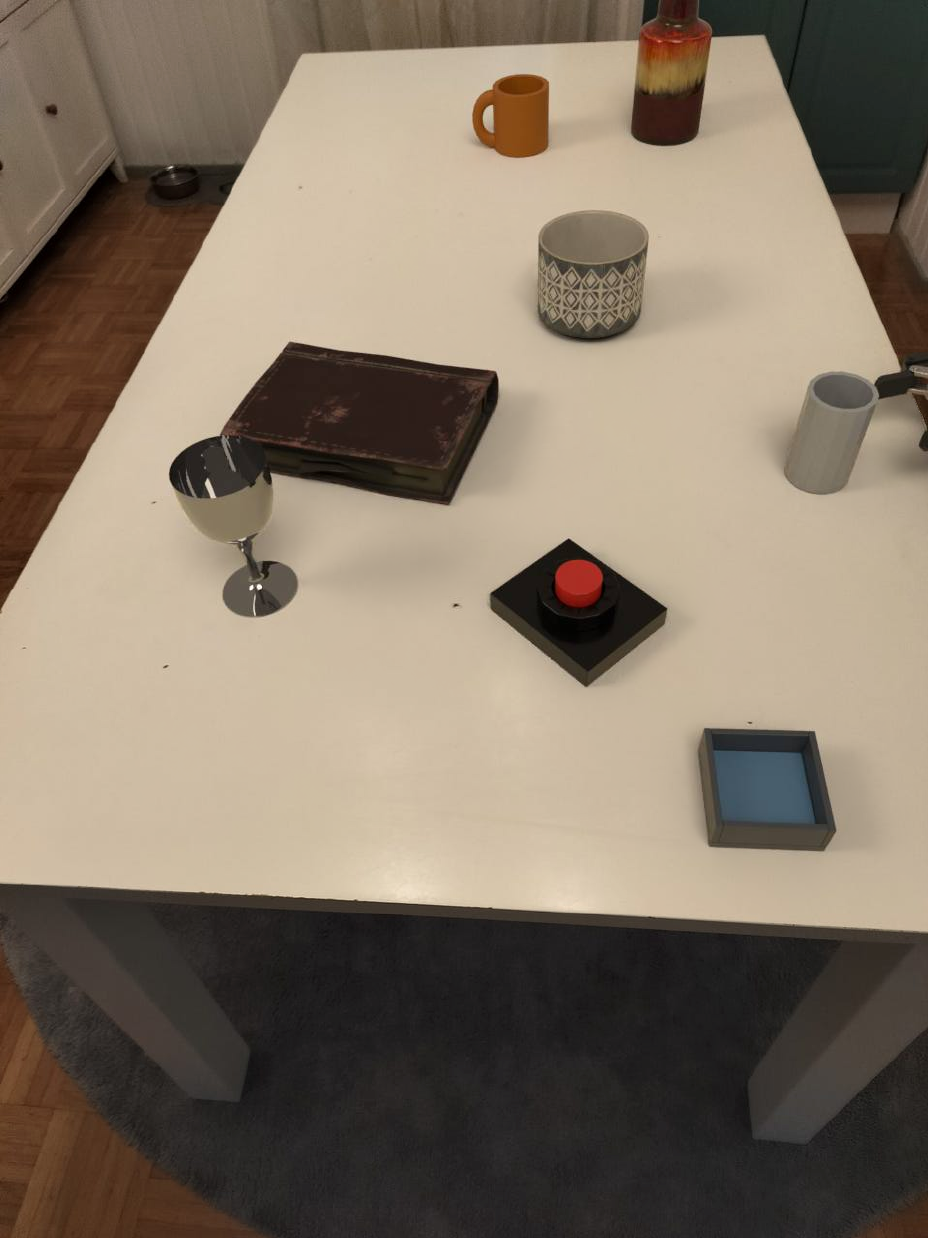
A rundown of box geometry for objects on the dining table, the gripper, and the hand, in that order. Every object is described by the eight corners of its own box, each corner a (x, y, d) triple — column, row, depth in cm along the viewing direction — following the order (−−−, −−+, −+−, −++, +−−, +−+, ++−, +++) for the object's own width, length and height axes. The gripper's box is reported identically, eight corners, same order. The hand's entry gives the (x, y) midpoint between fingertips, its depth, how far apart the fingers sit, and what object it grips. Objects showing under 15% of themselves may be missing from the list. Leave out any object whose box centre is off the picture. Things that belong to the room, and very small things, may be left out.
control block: (665, 624, 78) (670, 594, 75) (586, 687, 74) (588, 658, 71) (567, 554, 84) (569, 523, 81) (490, 609, 80) (488, 579, 77)
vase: (683, 150, 139) (703, -3, 123) (620, 139, 142) (631, -11, 127) (708, 124, 144) (730, -25, 129) (646, 114, 148) (660, -32, 133)
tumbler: (860, 473, 89) (892, 390, 81) (824, 503, 87) (853, 420, 79) (808, 445, 92) (833, 363, 84) (771, 473, 90) (794, 391, 82)
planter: (629, 351, 105) (638, 268, 97) (526, 338, 108) (526, 257, 100) (647, 295, 112) (657, 214, 104) (550, 285, 115) (552, 205, 107)
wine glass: (246, 634, 80) (199, 513, 68) (202, 587, 84) (150, 465, 72) (318, 589, 83) (284, 465, 71) (272, 545, 87) (233, 422, 75)
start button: (611, 590, 76) (612, 576, 75) (578, 615, 74) (579, 601, 73) (577, 566, 78) (578, 552, 77) (545, 589, 77) (545, 576, 75)
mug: (480, 132, 147) (478, 72, 140) (552, 134, 145) (553, 73, 138) (469, 156, 142) (466, 94, 135) (543, 158, 139) (544, 96, 133)
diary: (299, 372, 106) (291, 334, 102) (499, 402, 100) (498, 363, 96) (226, 471, 95) (214, 434, 91) (446, 512, 89) (443, 474, 85)
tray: (804, 753, 69) (814, 730, 66) (824, 851, 64) (836, 831, 61) (697, 750, 70) (703, 727, 67) (708, 847, 64) (716, 826, 62)
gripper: (1017, 312, 89) (870, 341, 87) (1117, 392, 80) (956, 426, 78) (987, 375, 95) (849, 404, 93) (1077, 457, 86) (926, 490, 84)
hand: (898, 414), depth 86 cm, fingers open, 8 cm apart
